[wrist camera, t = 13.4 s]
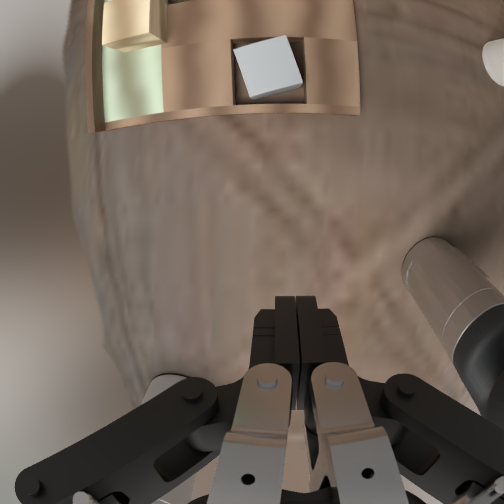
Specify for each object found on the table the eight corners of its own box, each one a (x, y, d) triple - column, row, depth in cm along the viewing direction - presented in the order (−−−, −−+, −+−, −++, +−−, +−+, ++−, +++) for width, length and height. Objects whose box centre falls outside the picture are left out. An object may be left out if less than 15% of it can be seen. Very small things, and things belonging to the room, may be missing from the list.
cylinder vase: (145, 367, 52) (97, 479, 29) (209, 377, 51) (180, 502, 28) (156, 406, 57) (123, 504, 34) (213, 415, 56) (192, 521, 34)
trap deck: (340, -47, 22) (347, -65, 17) (354, 115, 32) (366, 115, 27) (109, -22, 24) (92, -33, 20) (108, 130, 34) (88, 133, 30)
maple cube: (167, 4, 25) (150, -11, 20) (167, 43, 27) (148, 32, 22) (125, 15, 26) (104, 3, 21) (124, 52, 28) (101, 45, 23)
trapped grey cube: (284, 47, 29) (285, 35, 24) (298, 88, 31) (303, 82, 26) (239, 59, 30) (233, 49, 25) (253, 100, 32) (249, 97, 27)
